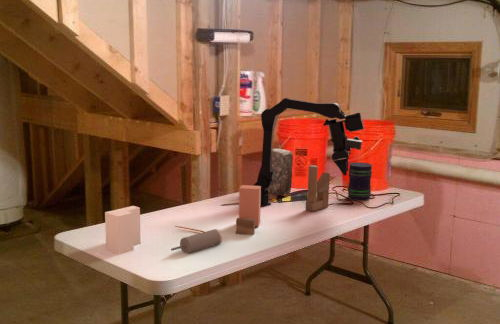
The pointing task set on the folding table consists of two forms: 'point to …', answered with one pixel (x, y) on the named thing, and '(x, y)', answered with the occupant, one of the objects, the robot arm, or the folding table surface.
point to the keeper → (250, 202)
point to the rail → (245, 226)
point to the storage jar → (359, 181)
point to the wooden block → (317, 189)
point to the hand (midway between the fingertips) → (346, 173)
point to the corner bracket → (122, 229)
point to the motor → (199, 240)
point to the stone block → (281, 172)
